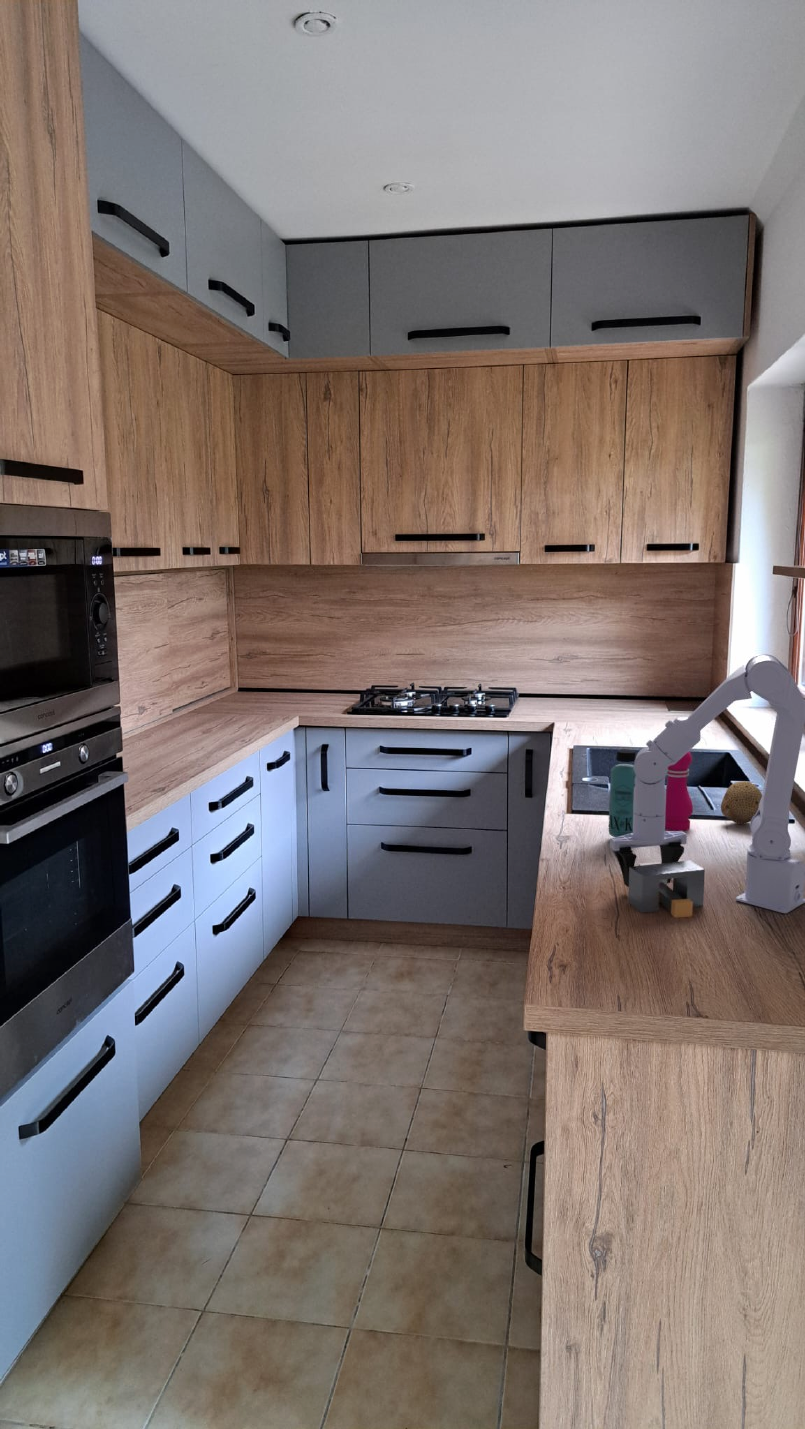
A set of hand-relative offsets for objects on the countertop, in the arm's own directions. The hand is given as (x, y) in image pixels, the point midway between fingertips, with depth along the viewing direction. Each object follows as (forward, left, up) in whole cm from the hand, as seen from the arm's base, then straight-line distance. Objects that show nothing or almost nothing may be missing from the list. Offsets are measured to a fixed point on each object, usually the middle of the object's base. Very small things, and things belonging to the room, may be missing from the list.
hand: (647, 883), depth 182 cm
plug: (-5, +2, -1) cm, 6 cm away
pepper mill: (+17, -38, -2) cm, 42 cm away
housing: (-6, +4, -1) cm, 7 cm away
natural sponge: (+7, -50, -2) cm, 51 cm away
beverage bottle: (+20, -22, -2) cm, 30 cm away
